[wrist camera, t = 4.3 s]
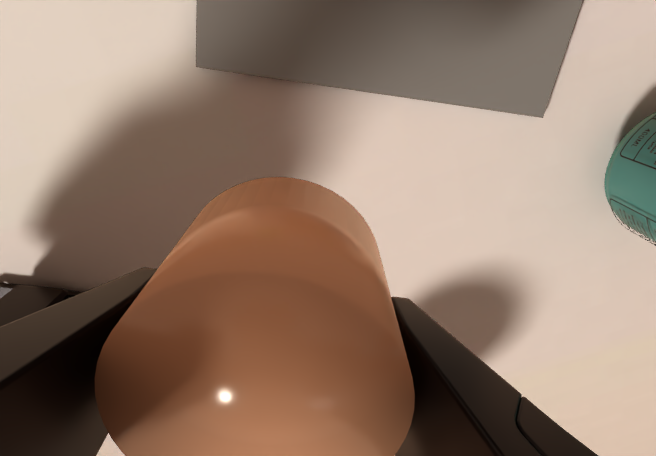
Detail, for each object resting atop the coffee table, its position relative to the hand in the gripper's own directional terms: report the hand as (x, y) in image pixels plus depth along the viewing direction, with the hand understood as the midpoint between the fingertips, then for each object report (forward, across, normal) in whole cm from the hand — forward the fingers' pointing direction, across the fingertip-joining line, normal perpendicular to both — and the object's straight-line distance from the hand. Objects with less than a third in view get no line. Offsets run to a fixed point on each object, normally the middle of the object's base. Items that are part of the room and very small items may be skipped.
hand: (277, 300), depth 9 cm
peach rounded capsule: (+1, 0, 0) cm, 1 cm away
